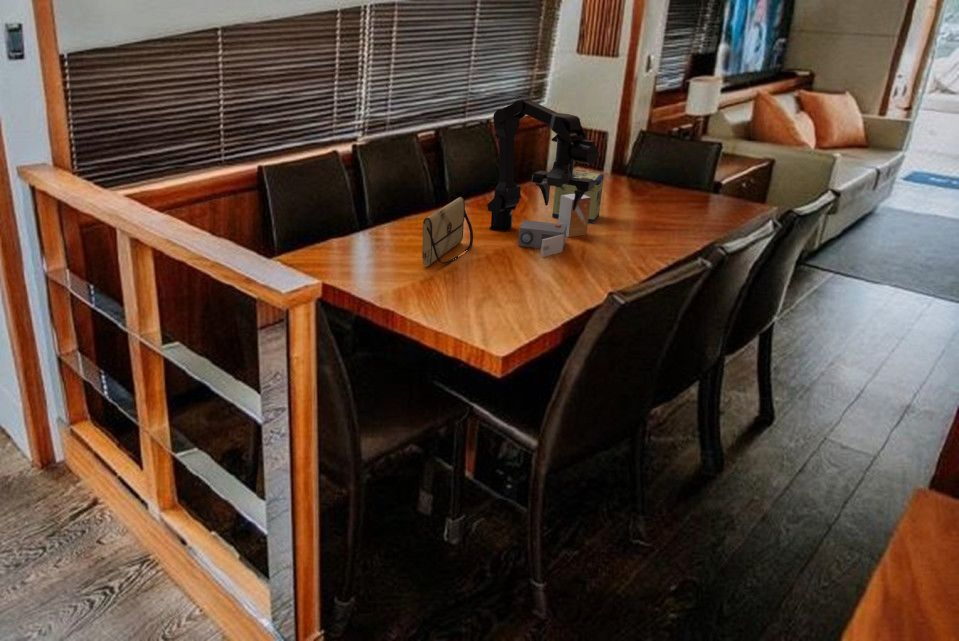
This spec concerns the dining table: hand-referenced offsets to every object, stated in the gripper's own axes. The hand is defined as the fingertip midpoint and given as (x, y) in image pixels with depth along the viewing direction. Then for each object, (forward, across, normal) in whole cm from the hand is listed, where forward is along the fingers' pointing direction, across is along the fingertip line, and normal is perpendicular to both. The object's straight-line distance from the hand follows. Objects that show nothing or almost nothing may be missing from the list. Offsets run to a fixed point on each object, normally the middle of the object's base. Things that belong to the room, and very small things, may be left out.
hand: (560, 207), depth 247 cm
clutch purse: (+13, -24, -26) cm, 38 cm away
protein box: (+13, -7, +37) cm, 40 cm away
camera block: (+13, -5, 0) cm, 14 cm away
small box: (+13, -1, +16) cm, 21 cm away
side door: (+13, +2, -7) cm, 15 cm away
